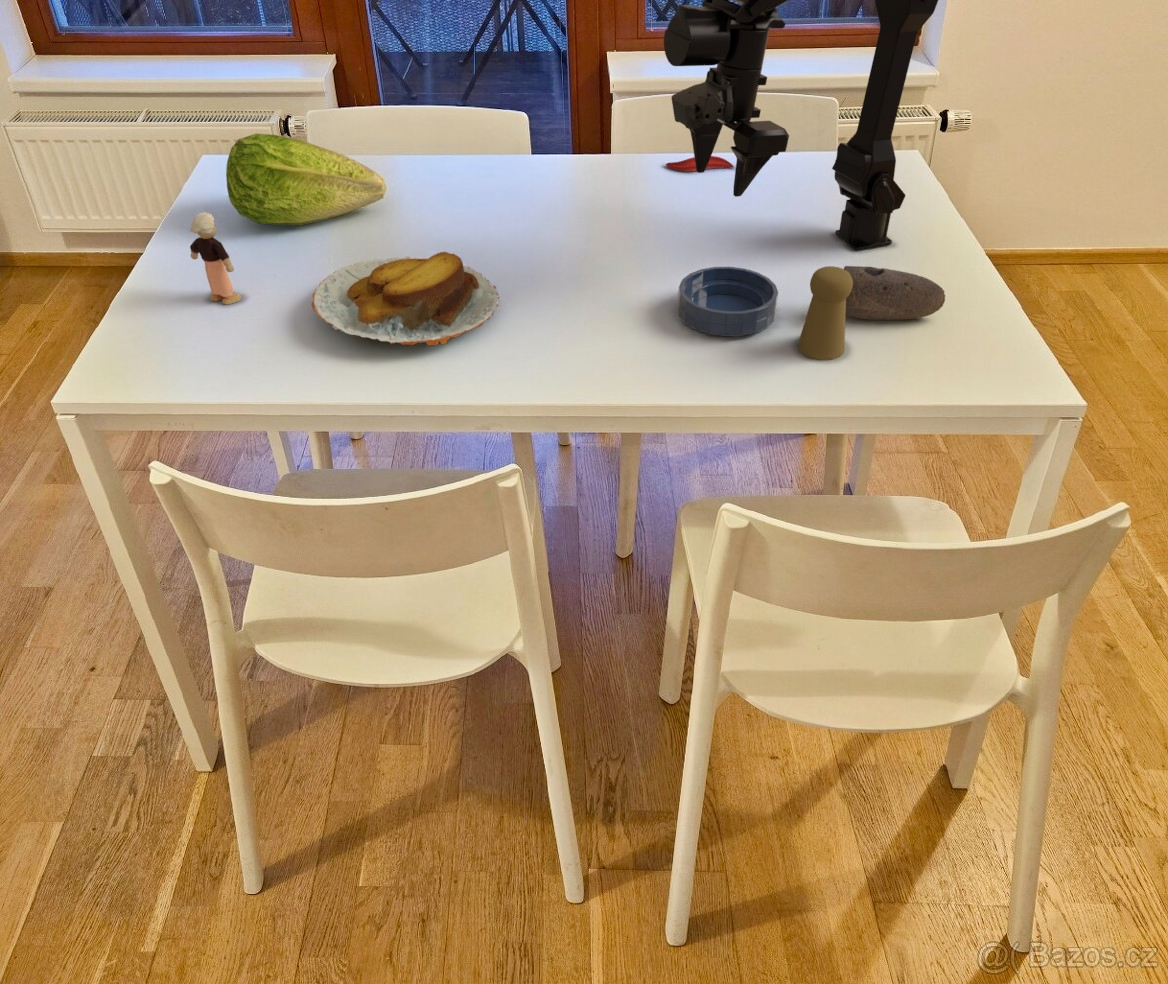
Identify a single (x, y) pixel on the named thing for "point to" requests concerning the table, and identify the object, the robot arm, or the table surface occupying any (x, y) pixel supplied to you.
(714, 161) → the cayenne pepper
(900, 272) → the perforated stone tool
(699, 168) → the robot arm
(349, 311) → the food on plate
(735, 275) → the bowl
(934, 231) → the table surface
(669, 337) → the table surface
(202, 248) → the grandmother figurine
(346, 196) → the lettuce
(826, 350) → the yellow pawn piece
